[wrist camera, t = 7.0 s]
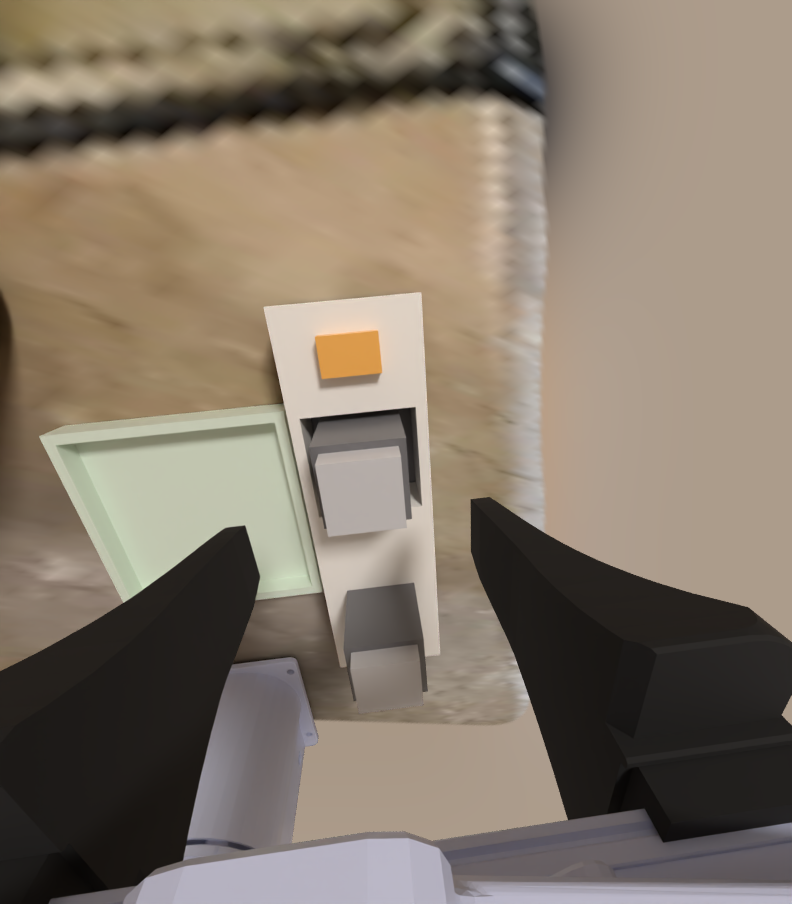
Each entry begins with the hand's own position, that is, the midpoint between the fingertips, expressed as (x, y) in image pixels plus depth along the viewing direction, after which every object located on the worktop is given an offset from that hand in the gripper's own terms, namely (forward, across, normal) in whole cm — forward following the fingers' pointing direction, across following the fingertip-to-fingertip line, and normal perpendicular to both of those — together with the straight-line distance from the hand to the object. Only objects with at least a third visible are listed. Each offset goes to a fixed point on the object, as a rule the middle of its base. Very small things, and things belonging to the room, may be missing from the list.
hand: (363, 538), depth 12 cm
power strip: (+8, 0, +3) cm, 9 cm away
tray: (+8, +9, +3) cm, 13 cm away
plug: (+8, 0, 0) cm, 8 cm away
